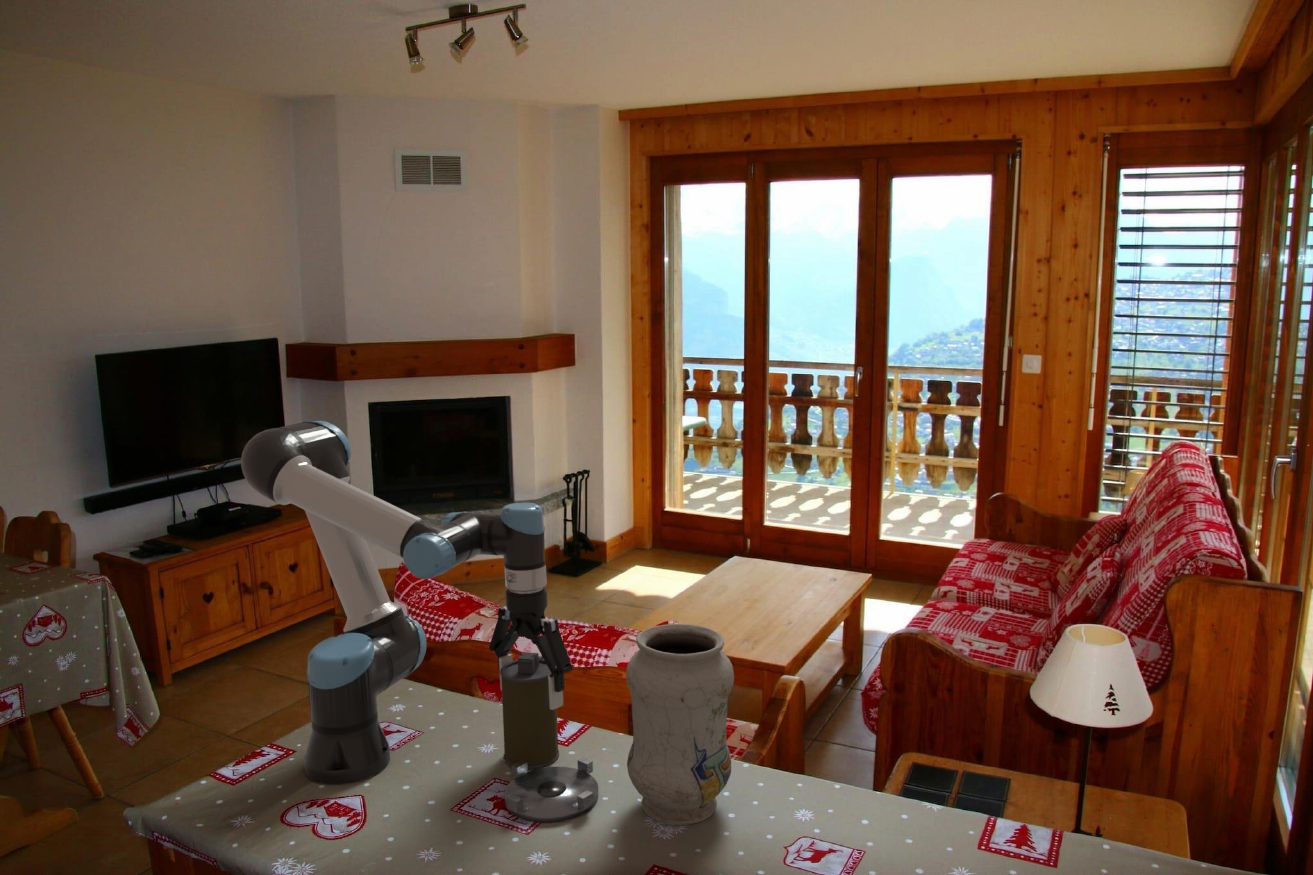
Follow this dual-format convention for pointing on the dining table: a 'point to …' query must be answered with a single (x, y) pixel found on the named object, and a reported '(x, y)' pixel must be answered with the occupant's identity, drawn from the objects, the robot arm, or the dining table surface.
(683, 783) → the vase
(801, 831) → the dining table surface
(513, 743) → the canister
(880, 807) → the dining table surface
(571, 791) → the flange
